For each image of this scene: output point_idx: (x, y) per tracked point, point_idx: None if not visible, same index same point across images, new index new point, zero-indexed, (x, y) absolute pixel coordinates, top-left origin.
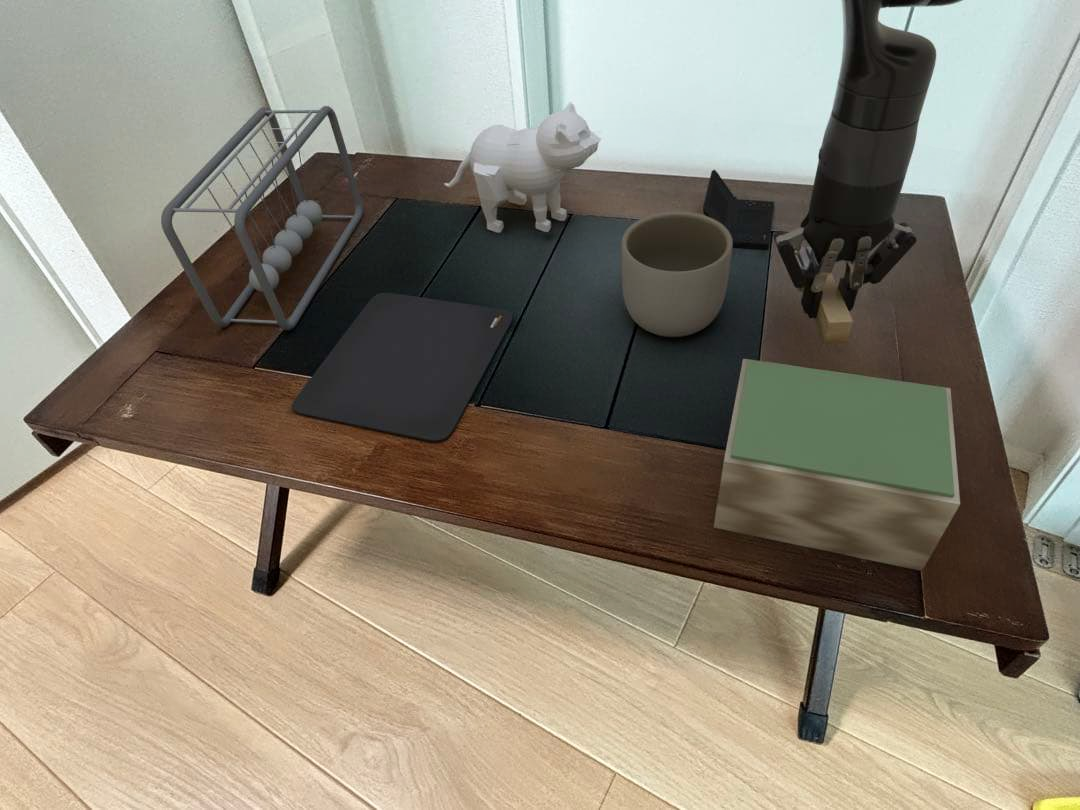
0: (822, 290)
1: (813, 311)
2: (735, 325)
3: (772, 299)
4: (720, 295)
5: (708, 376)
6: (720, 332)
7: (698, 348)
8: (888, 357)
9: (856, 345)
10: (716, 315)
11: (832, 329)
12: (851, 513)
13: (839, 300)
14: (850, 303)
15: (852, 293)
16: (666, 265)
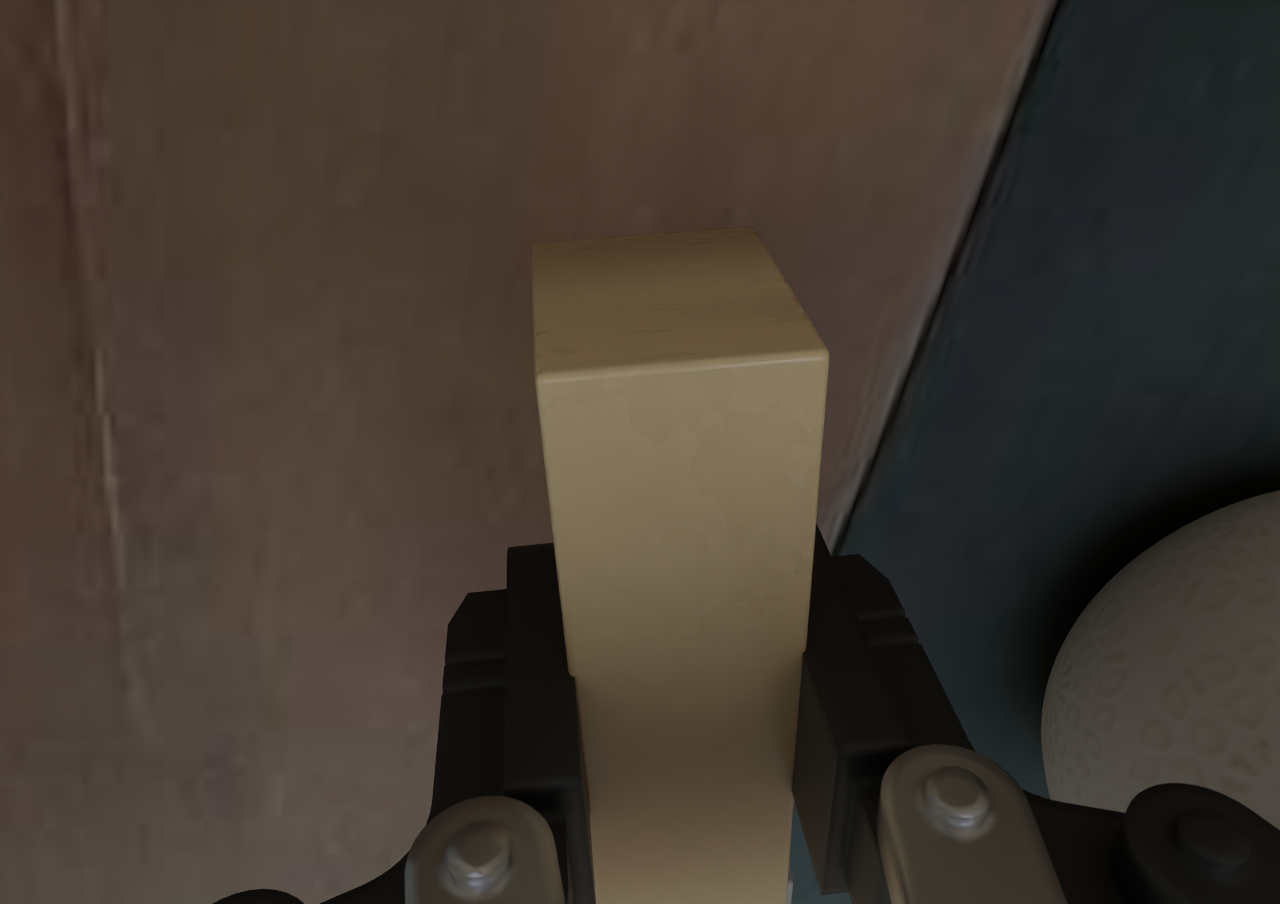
0: (838, 772)
1: (819, 566)
2: (955, 577)
3: None
4: (1237, 720)
5: (1253, 202)
6: (1046, 531)
7: (1204, 420)
8: (159, 369)
9: (347, 459)
10: (1126, 611)
11: (745, 304)
12: None
13: (615, 673)
14: (480, 658)
15: (486, 756)
16: None
